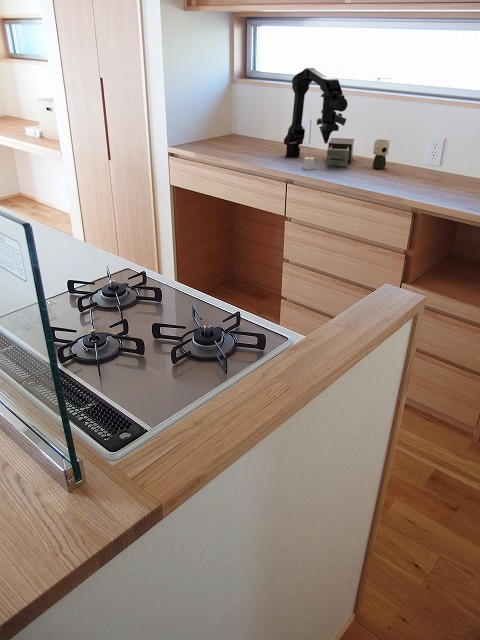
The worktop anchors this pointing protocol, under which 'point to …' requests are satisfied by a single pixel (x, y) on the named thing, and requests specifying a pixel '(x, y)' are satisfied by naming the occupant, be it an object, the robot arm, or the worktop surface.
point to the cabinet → (343, 142)
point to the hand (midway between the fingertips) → (325, 143)
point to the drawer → (338, 155)
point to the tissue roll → (308, 163)
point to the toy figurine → (380, 153)
